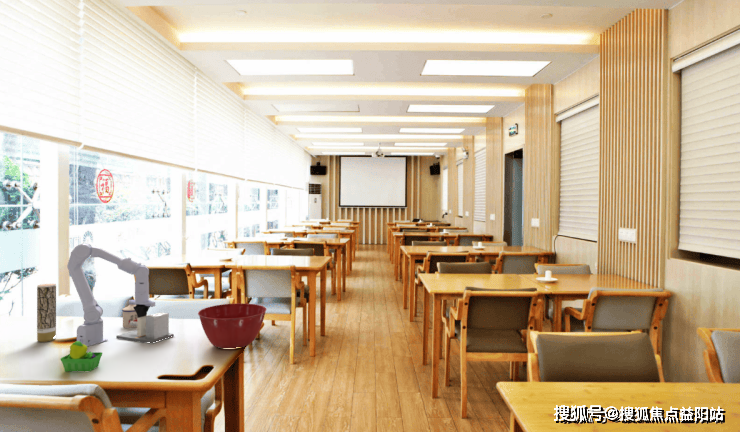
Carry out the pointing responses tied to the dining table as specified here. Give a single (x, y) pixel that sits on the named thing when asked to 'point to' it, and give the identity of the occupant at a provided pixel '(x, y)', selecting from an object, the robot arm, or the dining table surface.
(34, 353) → the dining table surface
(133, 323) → the pipe stand
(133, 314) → the teacup with lid
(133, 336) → the base plate
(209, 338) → the mixing bowl
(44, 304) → the paper tube
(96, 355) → the fruit basket
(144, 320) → the collar
